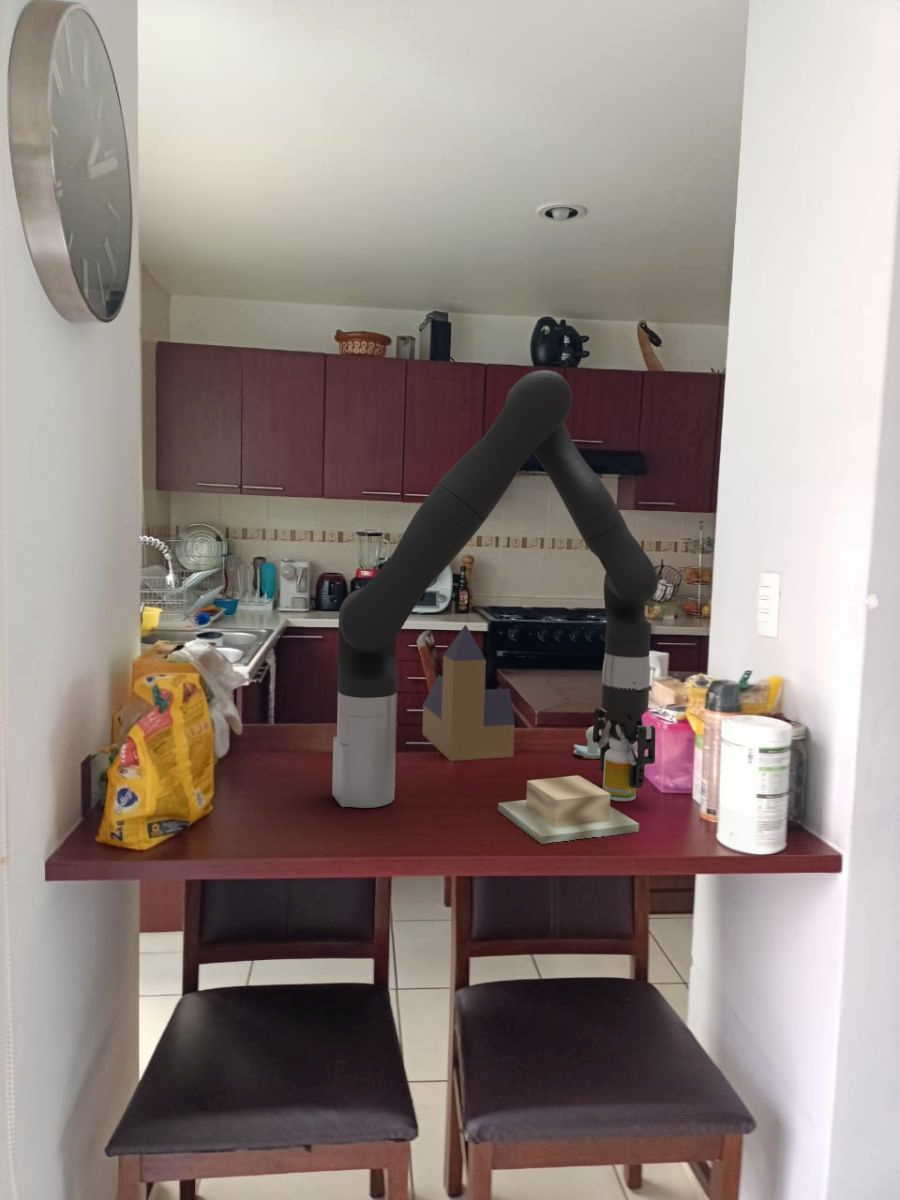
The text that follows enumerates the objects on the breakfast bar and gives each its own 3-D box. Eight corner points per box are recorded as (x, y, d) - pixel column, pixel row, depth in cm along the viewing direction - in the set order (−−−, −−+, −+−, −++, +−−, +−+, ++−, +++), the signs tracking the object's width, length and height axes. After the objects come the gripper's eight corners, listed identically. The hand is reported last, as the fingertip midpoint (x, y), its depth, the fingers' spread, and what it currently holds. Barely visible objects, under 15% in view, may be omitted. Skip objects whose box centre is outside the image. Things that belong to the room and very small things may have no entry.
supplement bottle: (639, 802, 133) (642, 743, 132) (605, 801, 133) (608, 742, 132) (632, 791, 138) (635, 735, 137) (600, 790, 138) (603, 733, 137)
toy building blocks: (450, 761, 152) (454, 626, 149) (422, 734, 170) (425, 614, 167) (513, 757, 156) (518, 626, 153) (479, 731, 174) (483, 613, 171)
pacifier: (569, 752, 161) (575, 760, 155) (570, 720, 161) (577, 727, 155) (606, 752, 162) (614, 761, 156) (607, 721, 161) (615, 728, 155)
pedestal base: (541, 845, 114) (543, 808, 114) (498, 810, 127) (499, 777, 126) (638, 831, 120) (640, 797, 120) (587, 800, 133) (589, 768, 133)
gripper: (582, 674, 139) (578, 768, 140) (631, 692, 125) (626, 795, 127) (620, 672, 141) (615, 764, 143) (672, 689, 128) (666, 790, 130)
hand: (620, 779), depth 135 cm, fingers open, 8 cm apart
